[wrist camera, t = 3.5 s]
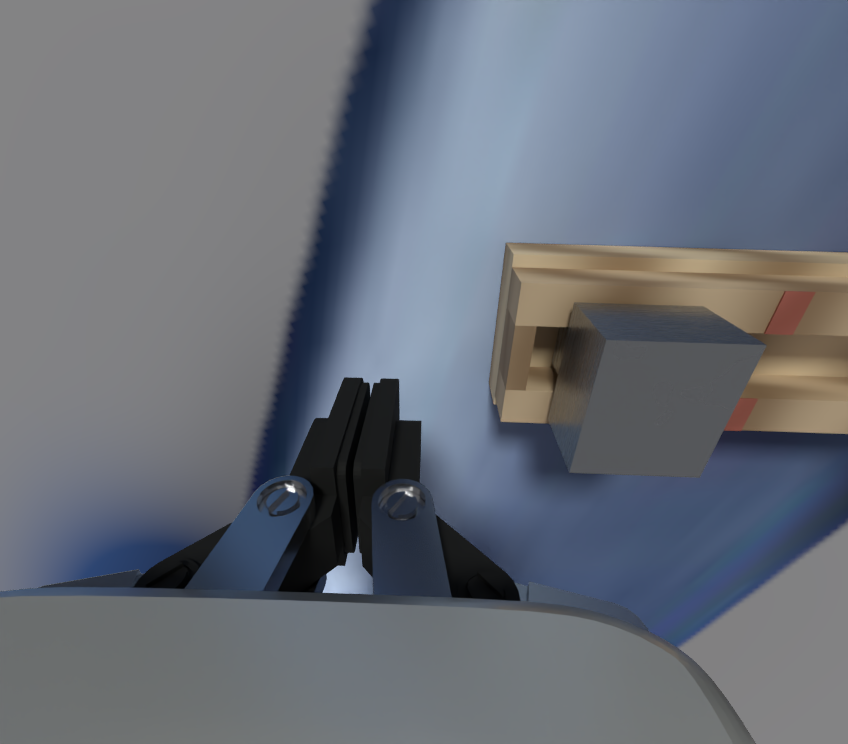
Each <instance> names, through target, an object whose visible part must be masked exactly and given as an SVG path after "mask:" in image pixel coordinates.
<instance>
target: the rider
mask: <svg viewBox="0 0 848 744" xmlns="http://www.w3.org/2000/svg"><path fill="white" fill-rule="evenodd" d="M766 346H767V345H766V344H764V343H763V342H761V341H759V340H758V339H756V338H754V337H753V336H751V335H750V334H748V333H746V332H745V331H743V330H741V329H740V328H738V327H737V326H735V325H733V324H732V323H730V322H728V321H727V320H725V319H723V318H722V317H720V316H719V315H717V314H715V313H714V312H712V311H710V310H709V309H707V308H706V307H704V306H678V305H645V304H613V303H580V302H574V305H573V310H572V314H571V319H570V323H569V327H559V330H558V335H557V340H556V345H555V349H554V354H553V359H552V364H553V366H554V368H555V370H556V372H557V374H558V377H557V381H556V386H555V390H554V395H553V399H552V404H551V408H550V413H549V417H548V421H549V423H550V426H551V428H552V431H553V433H554V436H555V438H556V441H557V443H558V446H559V448H560V451H561V453H562V456H563V458H564V461H565V463H566V466H567V468H568V471H569V473H589V474H616V475H644V476H671V477H698V478H700V476H701V474H702V472H703V470H704V468H705V466H706V464H707V462H708V460H709V458H710V456H711V454H712V452H713V450H714V448H715V446H716V444H717V442H718V440H719V438H720V436H721V434H722V433H723V431H724V429H725V427H726V425H727V423H728V421H729V419H730V417H731V415H732V413H733V411H734V409H735V407H736V405H737V403H738V401H739V399H740V397H741V395H742V393H743V391H744V389H745V387H746V385H747V383H748V381H749V379H750V378H751V376H752V374H753V372H754V370H755V368H756V366H757V364H758V362H759V360H760V358H761V356H762V354H763V352H764V350H765V348H766Z"/></svg>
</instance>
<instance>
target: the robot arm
mask: <svg viewBox="0 0 848 744" xmlns="http://www.w3.org/2000/svg"><path fill="white" fill-rule="evenodd" d="M420 455H421V421H404V420H399V379H381V380H380V383H374V385H373V389H372V393H371V397H370V385H369V383H363V378H344V379H343V382H342V384H341V387H340V389H339V392H338V394H337V397H336V400H335V402H334V405H333V407H332V410H331V412H330V415H329V418H316V419H315V420H314V421H313V423H312V426H311V428H310V430H309V432H308V435H307V437H306V439H305V441H304V444H303V446H302V448H301V451H300V453H299V455H298V457H297V460H296V462H295V464H294V466H293V469H292V471H291V473H290V476H282V477H277V478H275V479H272V480H270V481H268V482H266V483H265V484H263V485H261V486H260V487H259V488H258V489H257V490H256V491H255V492H254V493H253V495H252V496H251V498H250V499H249V500H248V502H247V503H246V505H245V506H244V507H243V509H242V510H241V511H240V513H239V514H238V516H237V517H236V518H235V520H234V521H233V522H232V523H230V524H228V525H226V526H225V527H223V528H221V529H219V530H217V531H215V532H214V533H212V534H210V535H208V536H206V537H205V538H203V539H201V540H199V541H197V542H195V543H194V544H192V545H190V546H188V547H186V548H184V549H183V550H181V551H179V552H177V553H175V554H174V555H172V556H170V557H168V558H166V559H164V560H163V561H161V562H159V563H158V564H156V565H155V566H153V567H152V568H150V569H149V570H148V571H147V572H146V573H145V574H141V573H140V571H139V570H132V571H127V572H121V573H115V574H109V575H103V576H98V577H92V578H86V579H80V580H74V581H69V582H63V583H57V584H51V585H45V586H42V587H39V588H29V589H19V590H10V591H0V744H756V743H755V742H754V740H753V738H752V737H751V735H750V734H749V732H748V730H747V729H746V727H745V726H744V724H743V722H742V721H741V720H740V718H739V716H738V715H737V713H736V712H735V710H734V709H733V707H732V706H731V704H730V703H729V701H728V700H727V699H726V697H725V696H724V695H723V693H722V692H721V691H720V689H719V688H718V687H717V685H716V684H715V683H714V681H713V680H712V679H711V678H710V677H709V676H708V675H707V673H706V672H705V671H704V670H703V669H702V668H701V667H700V666H699V665H698V664H697V663H696V662H695V661H694V660H692V659H691V658H690V657H689V656H688V655H686V654H685V653H684V652H682V651H681V650H680V649H678V648H677V647H675V646H674V645H672V644H670V643H669V642H667V641H665V640H664V639H662V638H660V637H658V636H656V635H654V634H653V633H651V632H649V631H648V629H647V627H646V626H645V625H644V623H643V622H642V621H641V620H640V618H639V617H638V616H636V615H635V614H634V613H632V612H631V611H630V610H629V609H627V608H625V607H623V606H620V605H618V604H615V603H612V602H608V601H604V600H600V599H596V598H592V597H588V596H584V595H580V594H576V593H572V592H568V591H564V590H560V589H556V588H553V587H549V586H545V585H541V584H537V583H533V582H529V584H528V586H525V585H521V584H517V583H514V581H513V580H512V579H511V578H510V577H509V575H508V574H507V573H506V572H505V571H503V570H502V569H501V568H500V567H498V566H497V565H496V564H495V563H494V562H492V561H491V560H490V559H489V558H488V557H486V556H485V555H484V554H483V553H482V552H480V551H479V550H478V549H477V548H476V547H474V546H473V545H472V544H471V543H469V542H468V541H467V540H466V539H465V538H463V537H462V536H461V535H460V534H459V533H457V532H456V531H455V530H454V529H453V528H451V527H450V526H449V525H448V524H447V523H445V522H444V521H443V520H442V519H440V518H439V517H438V516H437V515H436V514H435V509H434V504H433V499H432V496H431V494H430V491H429V490H428V489H427V488H426V487H425V486H424V485H422V484H421V483H419V482H420ZM357 538H359V549H360V553H362V564H363V567H364V568H365V569H366V571H367V572H368V573H369V574H370V575H371V576H372V577H373V595H368V594H338V593H322V592H323V590H324V587H325V584H326V579H327V576H326V574H327V573H328V572H329V571H331V570H332V569H334V568H335V567H336V566H338V565H340V566H345V563H346V559H347V554H348V553H354V552H355V548H356V544H357Z"/></svg>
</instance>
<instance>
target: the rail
mask: <svg viewBox="0 0 848 744" xmlns="http://www.w3.org/2000/svg"><path fill="white" fill-rule="evenodd" d="M574 302H580V303H613V304H645V305H678V306H704V307H706V308H707V309H709V310H710V311H712V312H714V313H715V314H717V315H719V316H720V317H722V318H723V319H725V320H727V321H728V322H730V323H732V324H733V325H735V326H737V327H738V328H740V329H741V330H743V331H745V332H746V333H748V334H750V335H751V336H753V337H754V338H756V339H758V340H759V341H761V342H763V343H764V344H766V345H767V346H766V348H765V350H764V352H763V354H762V356H761V358H760V360H759V362H758V364H757V366H756V368H755V370H754V372H753V374H752V376H751V378H750V379H749V381H748V383H747V385H746V387H745V389H744V391H743V393H742V395H741V397H740V399H739V401H738V403H737V405H736V407H735V409H734V411H733V413H732V415H731V417H730V419H729V421H728V423H727V425H726V427H725V429H724V431H741V430H749V431H777V432H806V433H834V434H848V253H845V252H810V251H775V250H740V249H705V248H670V247H635V246H600V245H566V244H531V243H506V246H505V255H504V263H503V271H502V279H501V287H500V296H499V304H498V312H497V320H496V328H495V336H494V345H493V353H492V361H491V369H490V377H489V385H490V390H491V394H492V399H493V404H495V405H497V407H498V412H499V416H500V420H501V422H521V423H549V421H548V417H549V413H550V408H551V404H552V399H553V395H554V390H555V386H556V381H557V377H558V374H557V372H556V370H555V368H554V366H553V364H552V359H553V354H554V349H555V345H556V340H557V335H558V330H559V327H569V323H570V319H571V314H572V310H573V305H574ZM549 424H550V423H549Z"/></svg>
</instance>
